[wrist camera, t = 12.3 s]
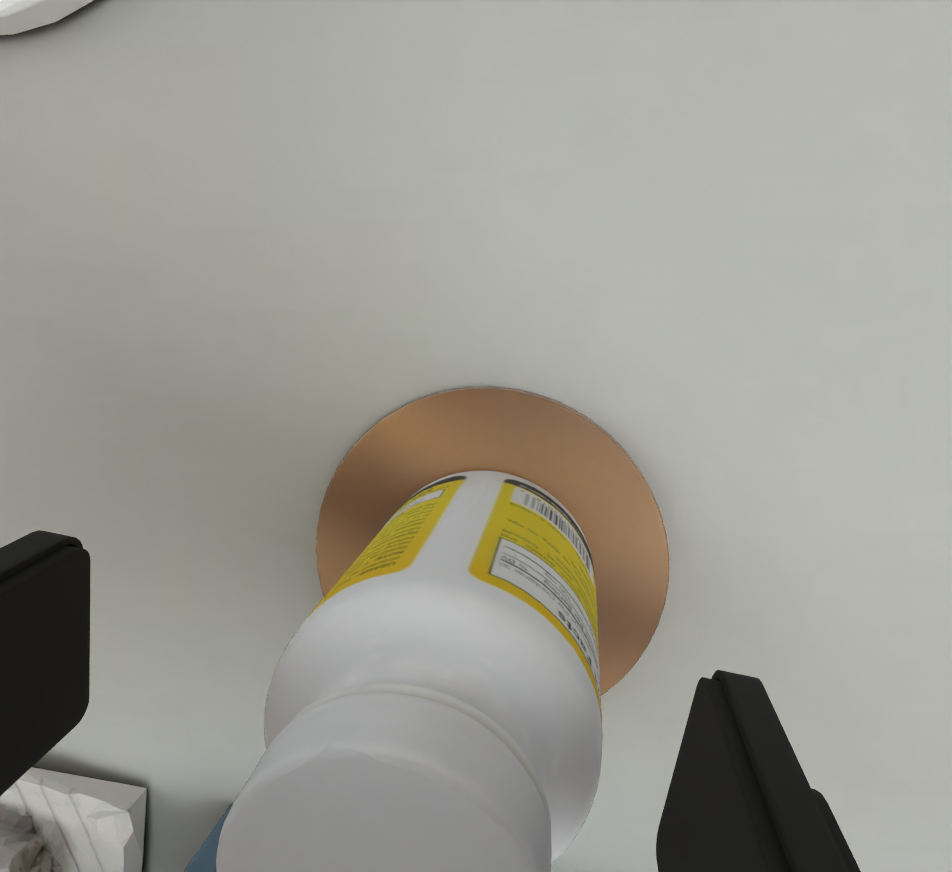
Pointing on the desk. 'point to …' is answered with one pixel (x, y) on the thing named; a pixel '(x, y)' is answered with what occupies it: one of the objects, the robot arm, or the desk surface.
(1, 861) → the packaged product
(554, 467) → the coaster
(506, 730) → the supplement bottle
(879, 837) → the desk surface
